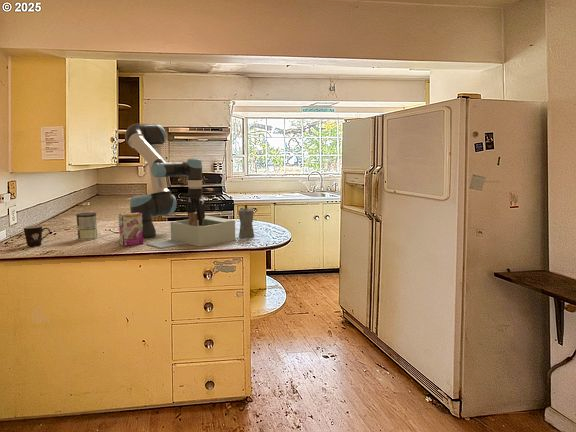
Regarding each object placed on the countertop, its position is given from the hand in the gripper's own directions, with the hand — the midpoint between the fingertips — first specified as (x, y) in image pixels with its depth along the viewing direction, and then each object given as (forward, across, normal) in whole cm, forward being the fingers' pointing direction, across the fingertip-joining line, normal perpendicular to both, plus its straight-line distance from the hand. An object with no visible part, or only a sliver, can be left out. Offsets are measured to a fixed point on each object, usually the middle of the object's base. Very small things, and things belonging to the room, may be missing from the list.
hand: (196, 230), depth 260 cm
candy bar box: (+6, +17, +29) cm, 34 cm away
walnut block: (0, 0, 0) cm, 0 cm away
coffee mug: (+6, +51, +64) cm, 82 cm away
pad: (+6, +4, +17) cm, 18 cm away
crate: (+6, 0, -4) cm, 7 cm away
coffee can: (+6, +50, +38) cm, 63 cm away
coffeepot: (+6, -9, -27) cm, 29 cm away
